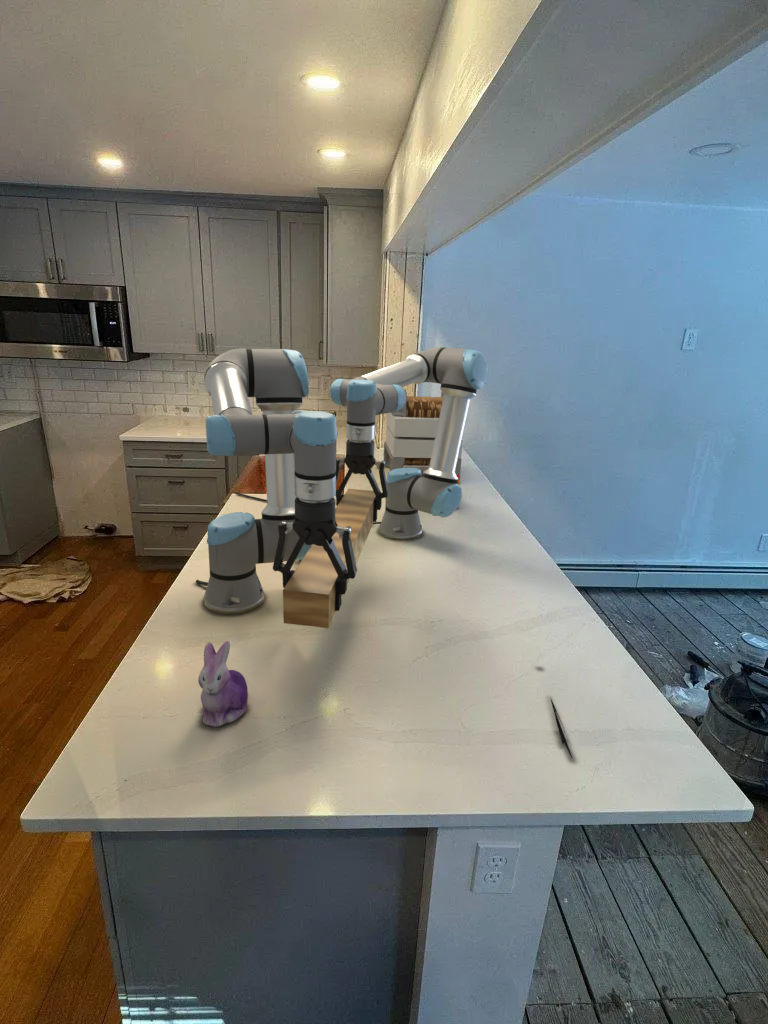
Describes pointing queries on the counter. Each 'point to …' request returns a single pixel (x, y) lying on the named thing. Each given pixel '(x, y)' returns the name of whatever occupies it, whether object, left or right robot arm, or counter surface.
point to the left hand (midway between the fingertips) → (314, 604)
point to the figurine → (221, 688)
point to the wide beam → (327, 565)
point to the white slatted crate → (413, 433)
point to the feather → (560, 728)
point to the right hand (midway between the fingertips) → (358, 518)
